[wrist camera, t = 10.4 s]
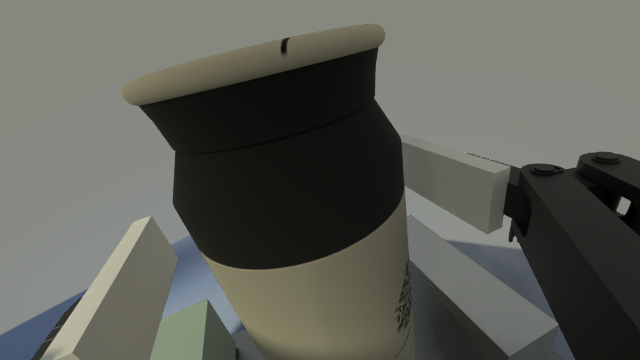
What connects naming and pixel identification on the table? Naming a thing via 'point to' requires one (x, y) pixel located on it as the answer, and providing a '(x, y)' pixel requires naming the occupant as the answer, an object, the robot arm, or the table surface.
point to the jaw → (193, 336)
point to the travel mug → (293, 191)
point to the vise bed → (459, 309)
